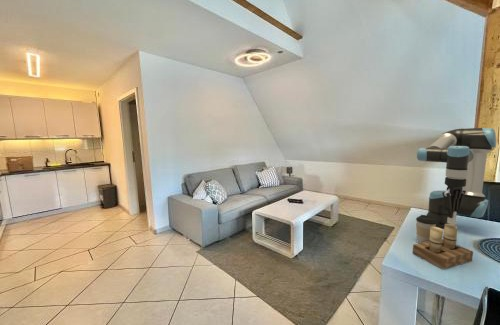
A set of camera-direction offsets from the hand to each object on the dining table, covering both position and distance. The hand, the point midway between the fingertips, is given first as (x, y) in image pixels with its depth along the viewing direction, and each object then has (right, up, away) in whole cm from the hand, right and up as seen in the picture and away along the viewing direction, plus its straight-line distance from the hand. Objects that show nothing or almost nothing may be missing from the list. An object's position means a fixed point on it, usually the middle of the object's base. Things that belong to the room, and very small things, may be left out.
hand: (451, 223), depth 107 cm
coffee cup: (0, -15, +16) cm, 22 cm away
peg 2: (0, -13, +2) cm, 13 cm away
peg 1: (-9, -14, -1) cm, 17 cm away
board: (-4, -17, +1) cm, 18 cm away
